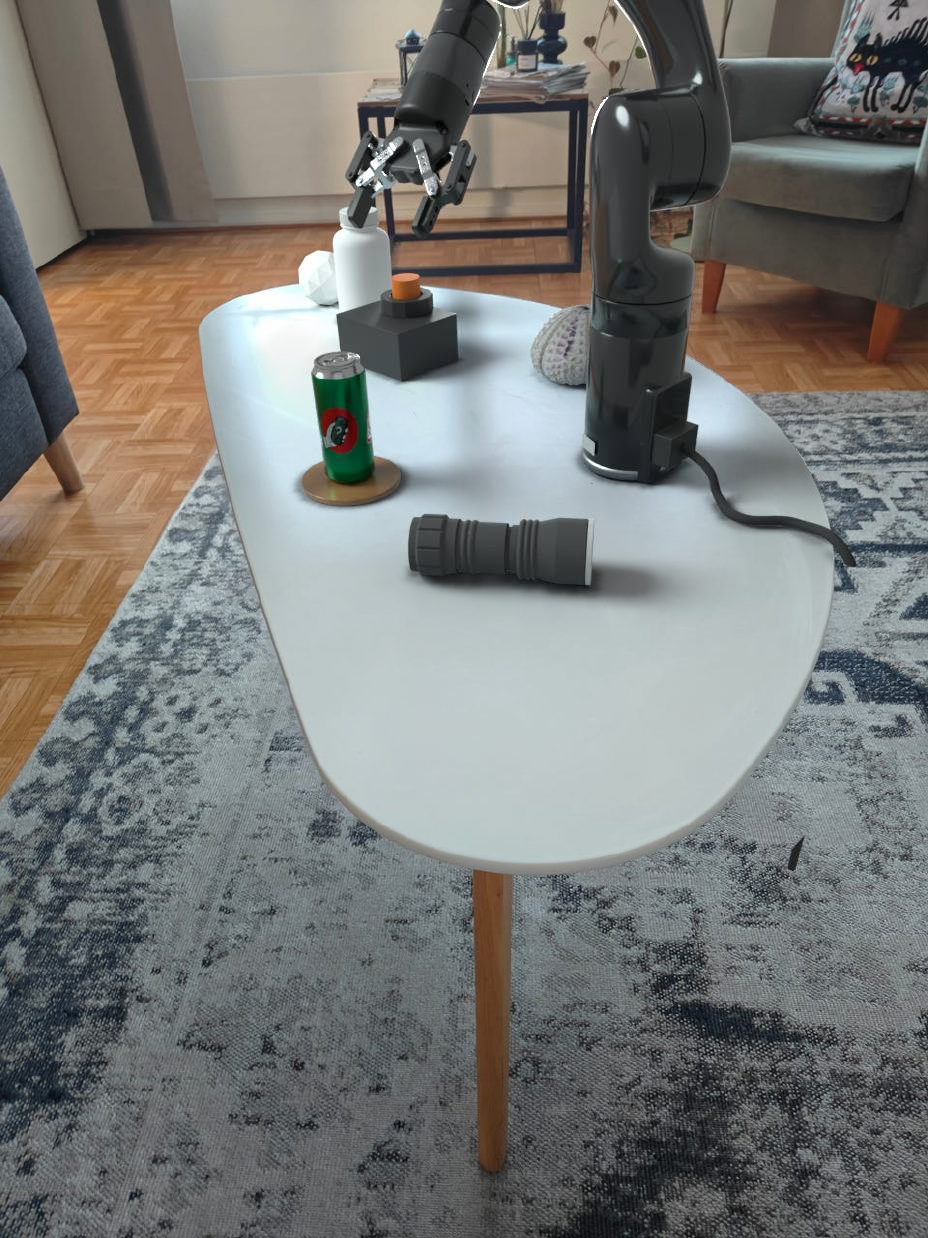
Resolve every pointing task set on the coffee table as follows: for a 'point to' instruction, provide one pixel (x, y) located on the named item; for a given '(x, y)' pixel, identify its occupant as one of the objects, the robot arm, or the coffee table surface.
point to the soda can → (343, 417)
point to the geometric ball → (319, 278)
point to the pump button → (406, 286)
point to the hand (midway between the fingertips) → (385, 229)
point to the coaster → (351, 485)
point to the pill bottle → (361, 262)
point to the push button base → (400, 335)
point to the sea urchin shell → (564, 346)
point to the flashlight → (503, 548)
